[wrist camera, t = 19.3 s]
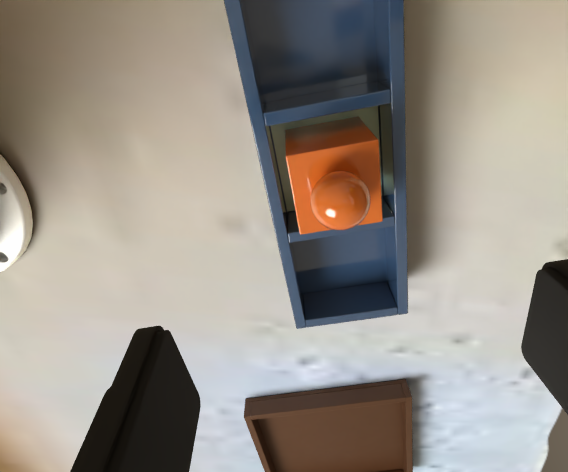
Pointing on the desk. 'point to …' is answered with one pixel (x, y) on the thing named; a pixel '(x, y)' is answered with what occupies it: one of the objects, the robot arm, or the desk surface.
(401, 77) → the three-compartment dish
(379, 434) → the walnut tray
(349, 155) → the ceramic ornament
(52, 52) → the desk surface
